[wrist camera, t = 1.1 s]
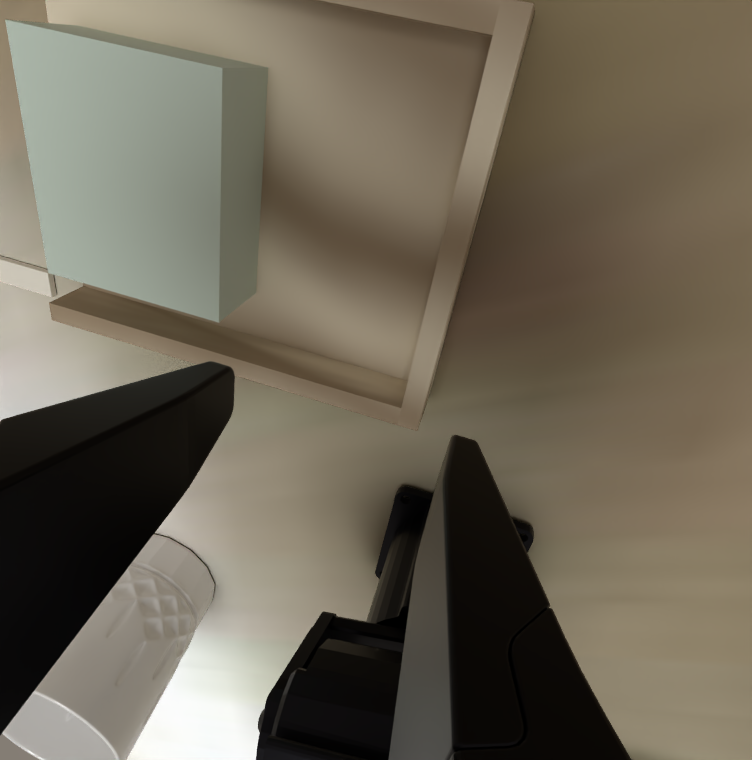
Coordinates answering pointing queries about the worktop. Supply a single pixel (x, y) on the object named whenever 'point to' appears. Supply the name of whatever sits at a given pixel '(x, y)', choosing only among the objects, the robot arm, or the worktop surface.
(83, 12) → the shallow beige tray
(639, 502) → the worktop surface
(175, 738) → the worktop surface
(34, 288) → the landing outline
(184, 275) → the pale green block
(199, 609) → the white cup
